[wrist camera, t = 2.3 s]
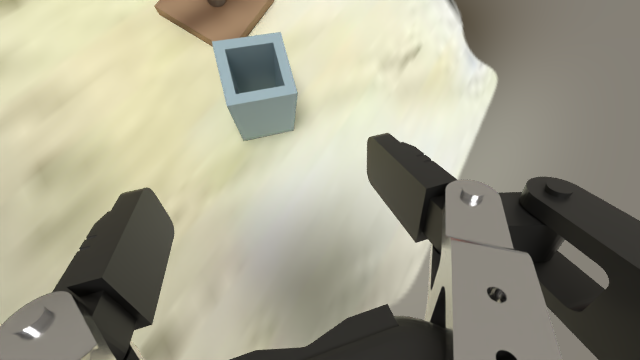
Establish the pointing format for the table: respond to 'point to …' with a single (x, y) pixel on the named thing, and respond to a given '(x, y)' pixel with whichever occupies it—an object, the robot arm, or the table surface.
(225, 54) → the collar
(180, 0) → the pin stand
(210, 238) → the table surface
